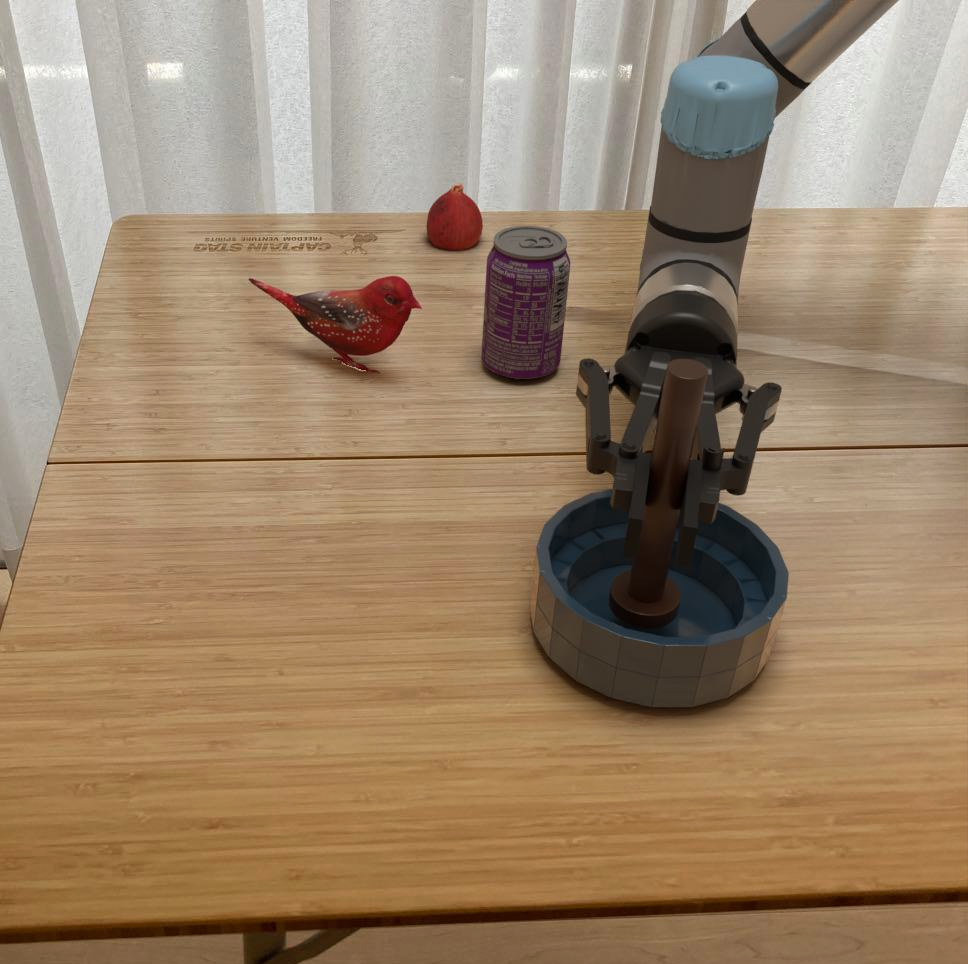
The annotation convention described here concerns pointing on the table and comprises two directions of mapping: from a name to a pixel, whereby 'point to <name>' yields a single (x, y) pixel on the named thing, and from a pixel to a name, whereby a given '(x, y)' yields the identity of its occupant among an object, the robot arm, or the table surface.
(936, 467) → the table surface
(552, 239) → the beverage can
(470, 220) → the red pomegranate
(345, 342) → the decorative bird figurine
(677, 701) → the bowl
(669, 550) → the stirring stick
